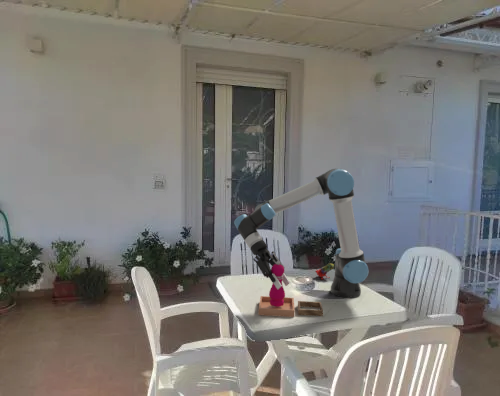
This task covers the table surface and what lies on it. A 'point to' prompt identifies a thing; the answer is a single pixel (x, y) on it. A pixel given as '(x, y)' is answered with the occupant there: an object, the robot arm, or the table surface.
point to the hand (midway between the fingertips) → (283, 285)
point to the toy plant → (324, 270)
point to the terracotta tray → (270, 310)
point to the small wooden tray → (309, 311)
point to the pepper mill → (276, 294)
